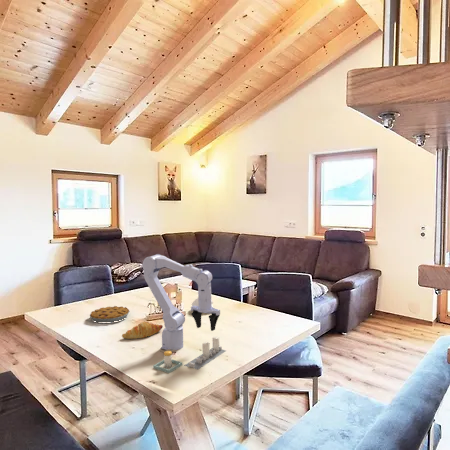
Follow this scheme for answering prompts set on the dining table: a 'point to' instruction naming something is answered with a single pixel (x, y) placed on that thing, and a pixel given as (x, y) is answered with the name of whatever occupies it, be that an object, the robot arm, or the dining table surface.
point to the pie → (109, 314)
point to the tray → (165, 368)
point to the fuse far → (216, 344)
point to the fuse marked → (167, 359)
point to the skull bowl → (196, 303)
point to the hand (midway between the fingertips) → (205, 328)
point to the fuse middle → (206, 350)
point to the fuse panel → (204, 359)
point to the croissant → (142, 330)
